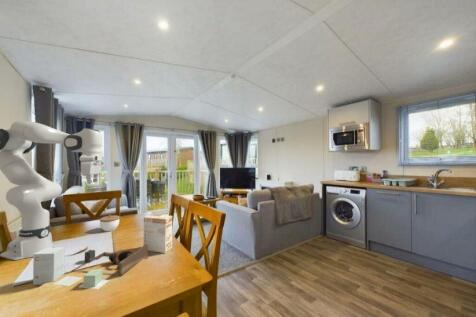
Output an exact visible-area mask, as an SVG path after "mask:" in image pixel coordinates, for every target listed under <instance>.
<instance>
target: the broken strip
mask: <svg viewBox="0 0 476 317" xmlns="http://www.w3.org/2000/svg"><path fill="white" fill-rule="evenodd" d="M81 279H84V276H83V277H81V276H71V275H66V276H64V277H62V278H61V279H59V280H57V281H54V283H52V285H56V286H64V287H70V286H72V285H73V284H75V283H77V282H78V281H80V280H81ZM108 282H110V279H103V278H102V281H101V282H100V283H99V284H97V285H96V286H95V287H84V282H83V283H81V284H80V285H79V286H78V288H83V289H93V290H100V289H101V287H103V286H104V285H106V284H107V283H108Z"/></svg>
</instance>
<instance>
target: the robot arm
mask: <svg viewBox="0 0 476 317" xmlns="http://www.w3.org/2000/svg"><path fill="white" fill-rule="evenodd" d="M37 144H54V145H55V144H56V145H58V144H59V145H60V144H62V145H63V147H64V148H65V149H66V150H67V151H69V152H72V153H82V154H81V156H79V161H80V173H81V175H82V176H84V177H85V179H86V184H87V185H90V184H92V183H93V182H94V183H97V182H98V178H99V175H100V174H102V162H103V150H102V146H103V137H102V133H101V131H100V130H99V129H93V128H89V127H85V128H83V129H82V130H81V131H79V132H76V133H73V134H70V133H66V132H64V131H62V130H58V129H57V128H53V127H51V126H49V125H46V124H42V123H40V122H35V121H31V120H16V121H14V122H13V123H12V124H11V125H10V128H8V129H4V128H0V171H1V173H2V174H3V175H4V176H5V177H6V179H7V180H8V182H10V183H11V184H13V185H15V186H14V187H11V188H10V189H8V190H7V192H6V194H5V199H6V202H7V203H8V204H9V205H11V206H13V207H15V208H16V209H17V210H18V211H19V214H20V217H21V228H20V229H18V230H17V232H18V236H17V237H15V238H14V239H12V240H11V241H10V242H9V243H8V244H7V245H6V246H7V247H6V251H3V252H1V253H0V257H1V258H6V259H8V260H12V261H19V260H22V259H28V258H34V254H35V253H37V252H39V251H41V250H43V249H45V248H54V246H55V244H54V243H53V238H52V232H51V228H52V227H51V224H50V211H49V210H48V209H46V208H43V207H42V202H47V201H51V200H54V199H56V198H58V197H59V196H60V195H61V194H62V190H63V189H62V186H61V184H60V183H58V182H55V181H52V180H50V179H48V178H45V177H44V176H43V175H42V174H40V173H39V172H37V171H36V170H35V169H34V168H33V167H32V166H31V165H30V163H29V162H28V161H27V160H26V159H25V157H24V156H23V155H24V154H25V155H26V154H28V153H29V152H31V151H32V150H33V149H35V147H36V146H37ZM92 176H93V178H92Z"/></svg>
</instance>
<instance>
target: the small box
mask: <svg viewBox="0 0 476 317" xmlns="http://www.w3.org/2000/svg"><path fill="white" fill-rule="evenodd" d="M65 253H66V248H65V246H62V247H61V246H60V247H59V246H58V247H53V248H45V249H43V250H41V251H39V252H37V253H35V254H34V257H33V261H32V262H33V264H32V266H33V268H32V269H33V272H32V273H33V274H32V275H33V276H32V278H33V279H32V284H33V286H40V285H44V284H46V283H47V282H49V283H51V282H56V280H58V279H59V278H60V277H61V276H63V275H64V274H66V273H65V272H66V270H65V268H66V264H65V263H66V262H65V261H66V258H65V257H66V254H65Z"/></svg>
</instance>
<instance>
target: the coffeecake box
mask: <svg viewBox="0 0 476 317" xmlns="http://www.w3.org/2000/svg"><path fill="white" fill-rule="evenodd" d="M144 245H148V252H153V253H155V252H156V253H162V254H166V253H167V252H168V251H170V249H171V248H172V249H173V215H167V214H153V213H152V214H151V213H150V214H148V215H145V216H144V217H143V245H142V247H143V246H144ZM172 249H171V250H172Z"/></svg>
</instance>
